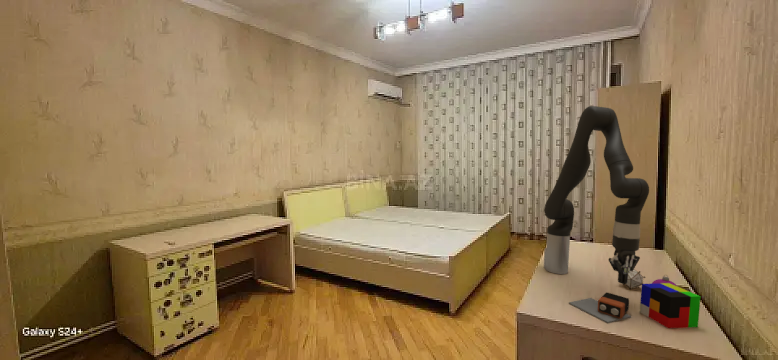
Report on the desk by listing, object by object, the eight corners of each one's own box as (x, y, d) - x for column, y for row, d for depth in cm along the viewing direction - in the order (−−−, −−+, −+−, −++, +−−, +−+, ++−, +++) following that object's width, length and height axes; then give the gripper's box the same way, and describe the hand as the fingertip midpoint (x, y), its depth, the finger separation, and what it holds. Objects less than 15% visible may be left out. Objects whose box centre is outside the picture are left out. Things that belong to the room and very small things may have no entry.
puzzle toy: (639, 312, 106) (641, 283, 105) (666, 311, 107) (669, 283, 106) (668, 328, 96) (670, 297, 96) (697, 327, 97) (700, 296, 96)
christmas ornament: (644, 298, 116) (646, 272, 116) (657, 294, 120) (659, 269, 119) (671, 308, 109) (673, 280, 108) (684, 304, 112) (686, 277, 111)
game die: (636, 298, 125) (655, 285, 118) (614, 289, 126) (631, 275, 120) (631, 280, 132) (648, 267, 125) (610, 272, 133) (626, 258, 127)
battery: (628, 310, 106) (620, 320, 100) (605, 303, 111) (596, 312, 105) (629, 298, 106) (621, 307, 99) (605, 291, 111) (597, 299, 104)
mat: (568, 303, 112) (568, 302, 112) (590, 299, 116) (590, 297, 116) (607, 323, 99) (607, 321, 99) (631, 317, 103) (631, 316, 102)
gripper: (627, 231, 115) (624, 276, 116) (602, 233, 110) (598, 281, 112) (650, 236, 108) (646, 284, 109) (624, 239, 103) (620, 289, 105)
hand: (622, 282), depth 111 cm, fingers closed
